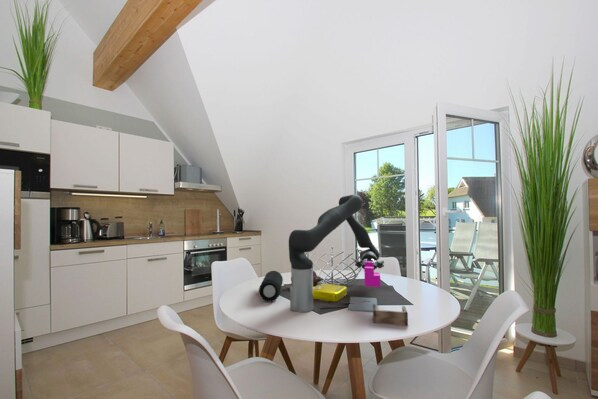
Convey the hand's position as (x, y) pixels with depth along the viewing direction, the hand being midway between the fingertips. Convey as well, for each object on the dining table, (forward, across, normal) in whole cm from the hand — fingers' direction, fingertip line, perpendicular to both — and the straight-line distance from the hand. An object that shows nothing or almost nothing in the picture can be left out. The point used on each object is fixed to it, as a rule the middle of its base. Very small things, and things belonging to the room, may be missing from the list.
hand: (369, 267), depth 128 cm
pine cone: (-23, -33, +17) cm, 44 cm away
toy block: (+1, +1, +6) cm, 7 cm away
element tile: (-10, -20, +17) cm, 28 cm away
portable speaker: (-6, -47, +17) cm, 51 cm away
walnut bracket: (+17, +7, +16) cm, 25 cm away
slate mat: (0, -3, +16) cm, 17 cm away
